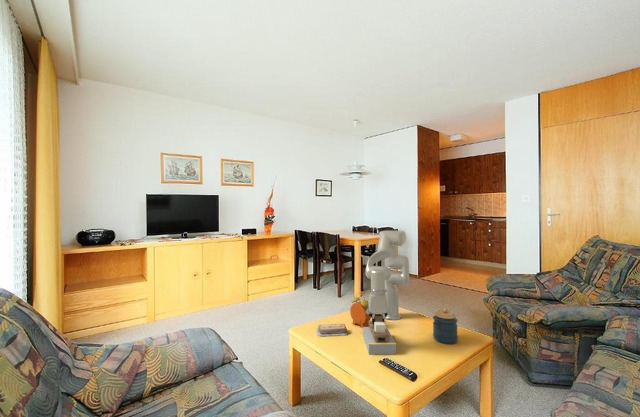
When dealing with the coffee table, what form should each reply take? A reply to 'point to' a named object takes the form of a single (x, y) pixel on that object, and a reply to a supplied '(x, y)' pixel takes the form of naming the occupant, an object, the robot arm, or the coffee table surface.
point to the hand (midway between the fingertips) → (378, 324)
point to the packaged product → (331, 330)
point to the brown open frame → (378, 334)
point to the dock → (378, 343)
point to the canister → (445, 327)
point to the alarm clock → (360, 312)
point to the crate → (379, 326)
